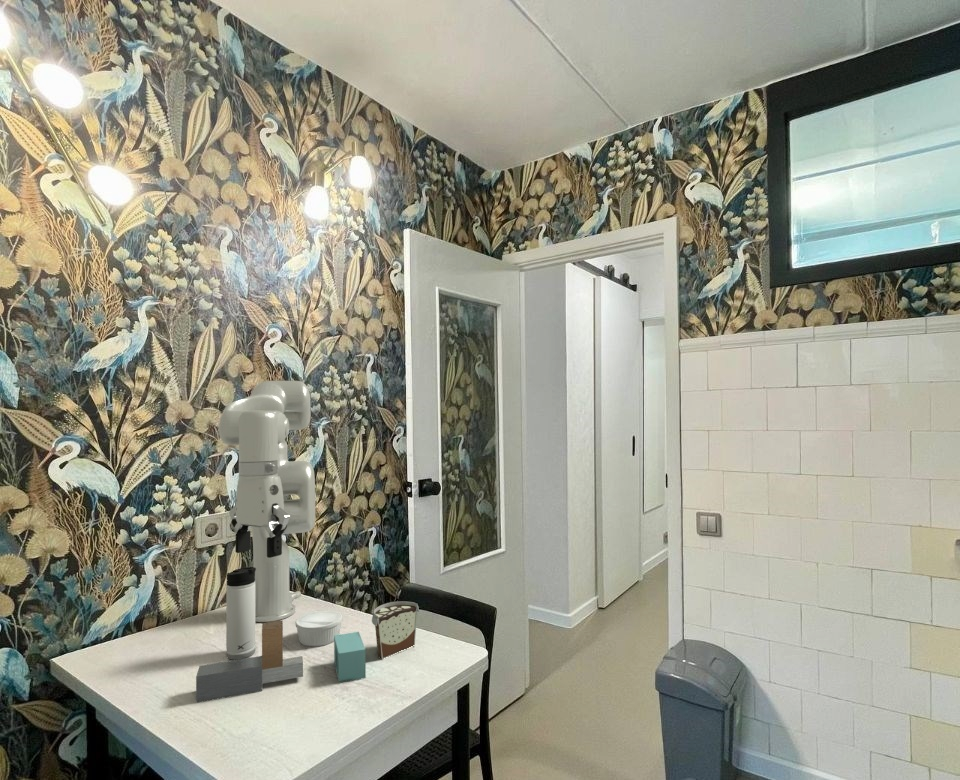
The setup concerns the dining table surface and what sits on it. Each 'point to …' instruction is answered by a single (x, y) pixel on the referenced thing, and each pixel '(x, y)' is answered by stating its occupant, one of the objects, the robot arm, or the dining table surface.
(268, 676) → the multicoloured piece
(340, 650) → the socket block
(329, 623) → the ramekin
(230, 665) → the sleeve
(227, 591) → the travel mug
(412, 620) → the food container
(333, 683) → the dining table surface
